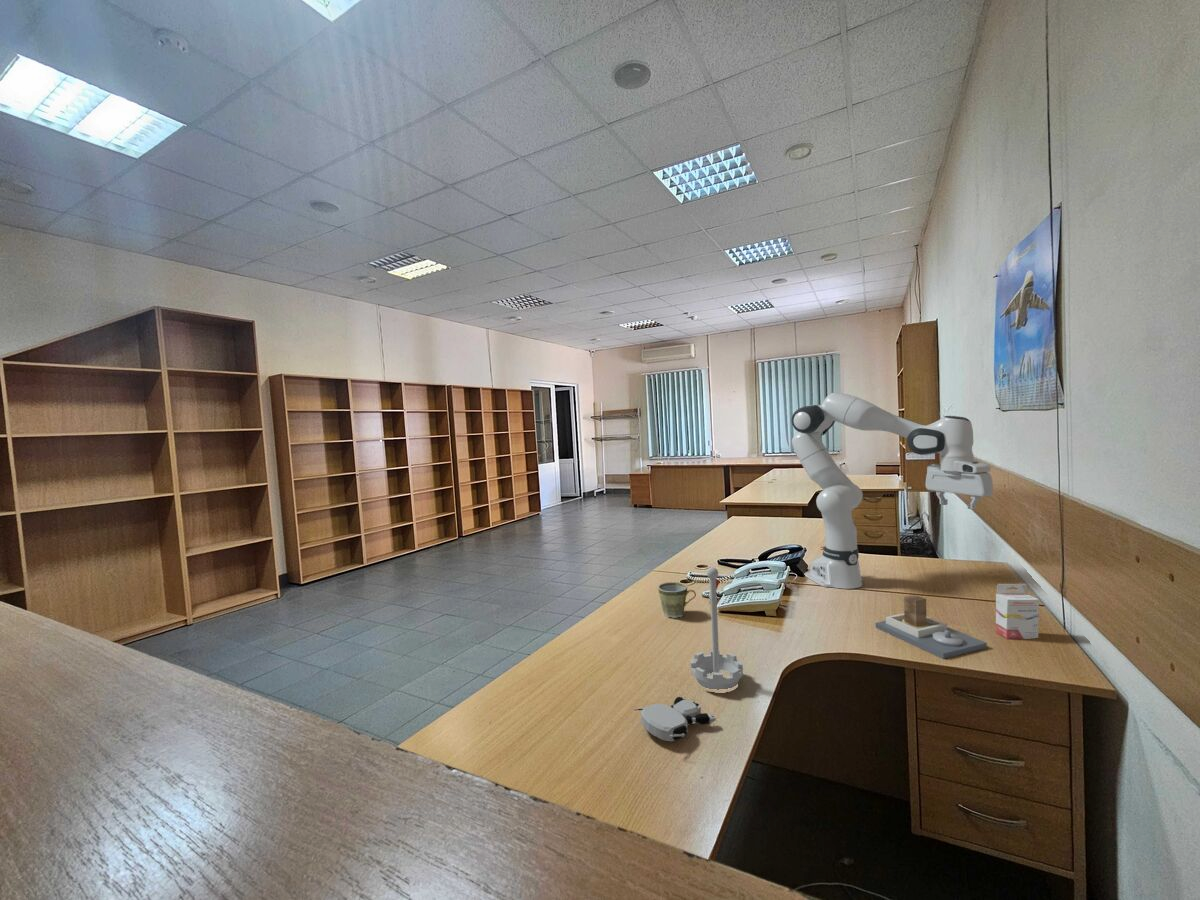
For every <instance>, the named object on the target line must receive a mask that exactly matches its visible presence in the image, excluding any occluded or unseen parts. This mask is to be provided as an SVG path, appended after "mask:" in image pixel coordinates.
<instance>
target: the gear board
mask: <svg viewBox="0 0 1200 900" xmlns="http://www.w3.org/2000/svg"><path fill="white" fill-rule="evenodd" d="M926 617H927V623H928V624H929V626H928V627H924V628H920V629H917V628H914V627H912V626H910V625H907V624H905V623H903V622H902V620H903V619H904V612H903V613H900V614H899V613H898V614H893V615H890V616H885V620H883V621H877V622H875V628H876V629H878V628H879V629H878V630H880V629H881V630H880V631H882V630H883V632H884V631H885V632H884V633H886V632H887V633H886V634H888V633H889V634H888V635H891V636H893V637H895V638H898V639H899V640H901V639H902V641H903V640H904V641H903V642H906V643H909V644H910V645H912V646H914V647H917V648H919V649H921V650H923V651H925V652H928V653H930V654H932V655H934V656H936V657H938V658H940V659H942V660H946V659H950V658H953V657H958V656H962V655H965V654H969V653H972V652H975V651H976V652H977V651H981V650H984V649H987V645H988V643H987V642H986V641H983V640H981V639H978V638H975V637H973V636H970V635H967V634H965V633H963V632H961V631H958V630H956V629H953V628H950V627H948V624H946V623H944V622H942V621H939V620H936V619H935V618H931V617H929V616H927V615H926Z"/></svg>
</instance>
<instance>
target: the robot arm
mask: <svg viewBox="0 0 1200 900" xmlns="http://www.w3.org/2000/svg"><path fill="white" fill-rule="evenodd" d="M835 422H837V423H839V424H841V425H844V426H847V427H849V428H851V429H856V430H859V431H868V432H869V431H877V432H878V431H881V432H888V433H891V434H894V435H897V436H900V437H902V438H906V444H907V447H908V449H909V451H911V452H912V453H913V454H917V455H920V456H930V455H933V454H940V455H939V456H940V463H931V464H929V465H928V466H927V467H926V472H927V473H926V476H925V488H926V490H928V491H932V492H935V495H936V496H937V498H938V499H939V505H942V506H946V505H947V506H948V503H949V501H948V499H946V498H945V493H949V494H956V495H967V496H970V499H971V501H970V503H967V510H968V509H969V510H976V509H977V504H978V502H979V501H980V499H981V498H982V497H984V498H986V497H990V496H992V494H993V492H994V484H993V477H992V475H991V474H990V472H991V469H992V468H991V465H989V464H987V463H984V462H981V461H979V460H977V459H975V458H974V453H973V445H974V429H973V424H972V422H971V420H970V419H969V418H967V417H964V416H957V415H944V416H942V417H941V418H939V419H938V420H937V421H934V422H932V423H930V424H922V423H918V422H915V421H912V420H910V419H906V418H904V417H901V416H899V415H895V414H894V413H891V412H889V411H887V410H886V409H883V408H882V407H879V406H878V405H876V404H874V403H871V402H870V401H868V400H865V399H863V398H860V397H858V396H854V395H851V394H848V393H843V392H837V391H836V392H831V393H830V394H828V395H827V396H826V397H825V398H824V400H823V402H822V404H811V405H805V406H802V407H799V408H798V409H796V410H795V411H794V412H793V414H792V415H791V425H792V427H793V429H794V431H795V430H796V433H795V434H794V436H793V437H792V439H791V446H792V449H793V450H794V452H795V455H796V456H797V458H798V461H799V462H800V463H801V465H802V467H803V469H804V471H805V472H806V474H807V476H808V477H809V478H810V480H811V481H813V482H814V483H816V484H817V485H818V487H820V488H821V492H819V494H818V495H817V496H816V500H815V502H816V507H817V509H818V510H819V511H820V513H821V516H822V520H823V524H824V525H823V526H824V532H825V533H824V535H825V536H824V537H825V546H821V547H820V548H821V549H820V550H821V551H822V554H821V555H820V556H818V557H817V558H815V559H814V560H812V561H811V563H810V568H809V569H810V570H809V571H808V570H807V571H805V572H804V573H803V575H805V576H804V577H806V578H807V579H809V580H811V581H813V582H814V583H816V584H818V585H819V586H821V587H824V588H836V589H843V590H844V589H847V590H848V589H849V590H851V589H858V588H861V587H863V577H862V576H861V569H860V561H859V557H860V556H859V553H860V552H859V547H858V533H857V532H858V531H857V527H856V525H855V523H854V521H853V516H852V510H854V509H856V508H858V506H859V505H860V504H861V502H862V500H863V497H864V496H863V495H864V494H863V490H862V489H861V488H860V486H858V485H856V484H855V483H854V482H853V481H852V480H851V479H850V478H849V477H848V476H847V475H846V474H845V473H844V472H843V470H842V469H841V468H840V467H839V466H838V464H837V463H836V461H835V460H834V459H833V457H832V455H831V454H830V452H829V450H828V449H827V447H826V445H824V443H823V440H822V438H821V437H822V436H824V435H826V434H827V432H828V431H829V430H830V429H831V428H832V427H833V426H834V424H835Z"/></svg>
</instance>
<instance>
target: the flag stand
mask: <svg viewBox="0 0 1200 900" xmlns="http://www.w3.org/2000/svg"><path fill="white" fill-rule="evenodd" d="M706 575H707V577H708V578H709V590H710V592H709V594H710V595H709V596H710V614H711V615H710V616H711V619H710V621H711V641H712V643H711V644H712V649H711V650H709V654H704V652H703V651H700V652H696V653H695V654H694V658H690V672H691V674H692V675H693V676H694V677H695V678H694V679H696V681H697V682H698V683H699V684H700V685H701V686H703V687H705V688H709V689H717V690H719V689H728V688H732V687H734V686H736V685H737V684H738V682H739V683H740V679H741V678H742V677H743V675H744V669H743V660H742V659H739V660H737V655H736V654H734V653H731V652H727V653H726V655H725V654H720V653H721V651H720V649H719V628H718V627H719V625H718V624H719V622H718V603H717V602H718V600H717V589H718V586H719V584H720V582H721V581H720V580H719V579H717V578H718V576H719V570H718V569H717V568H716V567H713V566H712V567H709V568H707V570H706ZM720 670H721V671H723V670H724V671H727V672H729V673H730V676H727V677H723V672H724V671H723V672H722V673H720ZM712 672H713V673H712ZM709 673H710V674H711V673H712V674H713V677H712V674H711V676H710V674H709ZM707 674H708V675H707Z"/></svg>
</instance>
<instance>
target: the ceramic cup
mask: <svg viewBox="0 0 1200 900" xmlns="http://www.w3.org/2000/svg"><path fill="white" fill-rule="evenodd" d="M657 588H658V589H657V590H658V594H659V598H660V603H661V608H662V613H663V615H664V617H666V616H667V617H666V618H668V617H672V618H671V619H674V618H676V619H678V618H677V617H680V618H683V616H684V615H685V607H686V606H687V605H688V604H689V603H690V602H691V601H692V600H694V599H695V597H697V593H696V591H695V590H694V589H688V586H687V584H684V583H683V582H677V581H676V582H675V581H668V582H663V583H661V584H659V585H658V587H657ZM689 593H693V594H694V596H693V597H691V598H690V599H688V601H686V598H687V596H688V594H689ZM683 614H684V615H683Z"/></svg>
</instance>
